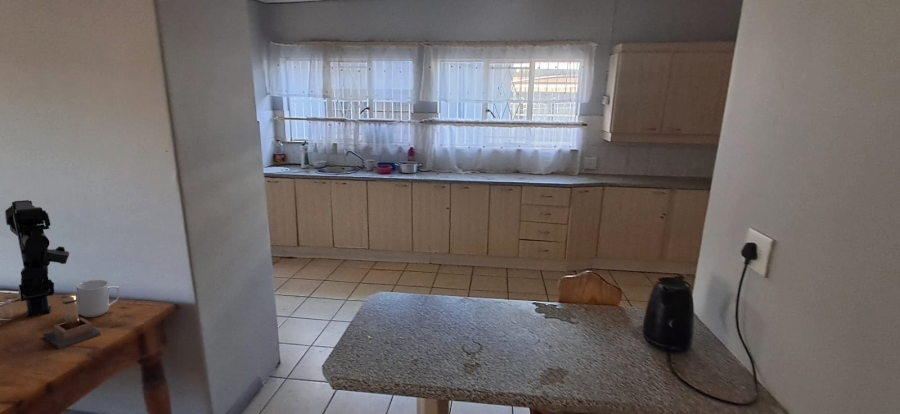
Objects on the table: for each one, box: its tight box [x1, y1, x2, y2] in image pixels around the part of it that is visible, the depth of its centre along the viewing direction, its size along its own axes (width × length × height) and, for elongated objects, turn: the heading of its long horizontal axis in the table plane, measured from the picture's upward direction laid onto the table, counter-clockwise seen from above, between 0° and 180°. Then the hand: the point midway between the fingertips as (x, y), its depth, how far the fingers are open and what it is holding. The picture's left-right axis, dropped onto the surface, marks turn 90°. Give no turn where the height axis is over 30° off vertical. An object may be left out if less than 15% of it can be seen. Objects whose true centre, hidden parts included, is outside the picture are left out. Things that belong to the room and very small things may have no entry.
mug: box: [76, 279, 120, 318], centre depth 159 cm, size 12×9×11 cm
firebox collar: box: [42, 316, 101, 349], centre depth 143 cm, size 12×11×4 cm
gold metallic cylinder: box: [61, 293, 80, 330], centre depth 142 cm, size 4×4×13 cm
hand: (39, 288), depth 147 cm, fingers open, 9 cm apart
